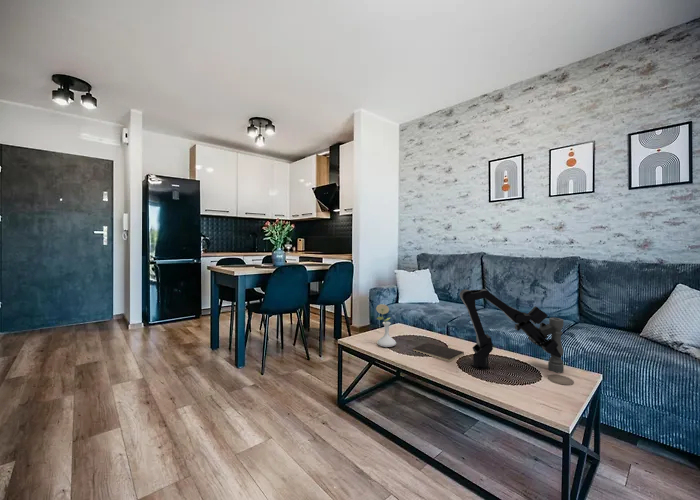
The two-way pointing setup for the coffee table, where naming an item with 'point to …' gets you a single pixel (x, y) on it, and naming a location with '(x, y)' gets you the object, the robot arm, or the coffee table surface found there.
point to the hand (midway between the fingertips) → (555, 353)
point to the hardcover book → (439, 351)
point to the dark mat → (560, 379)
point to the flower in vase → (386, 339)
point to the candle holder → (555, 361)
